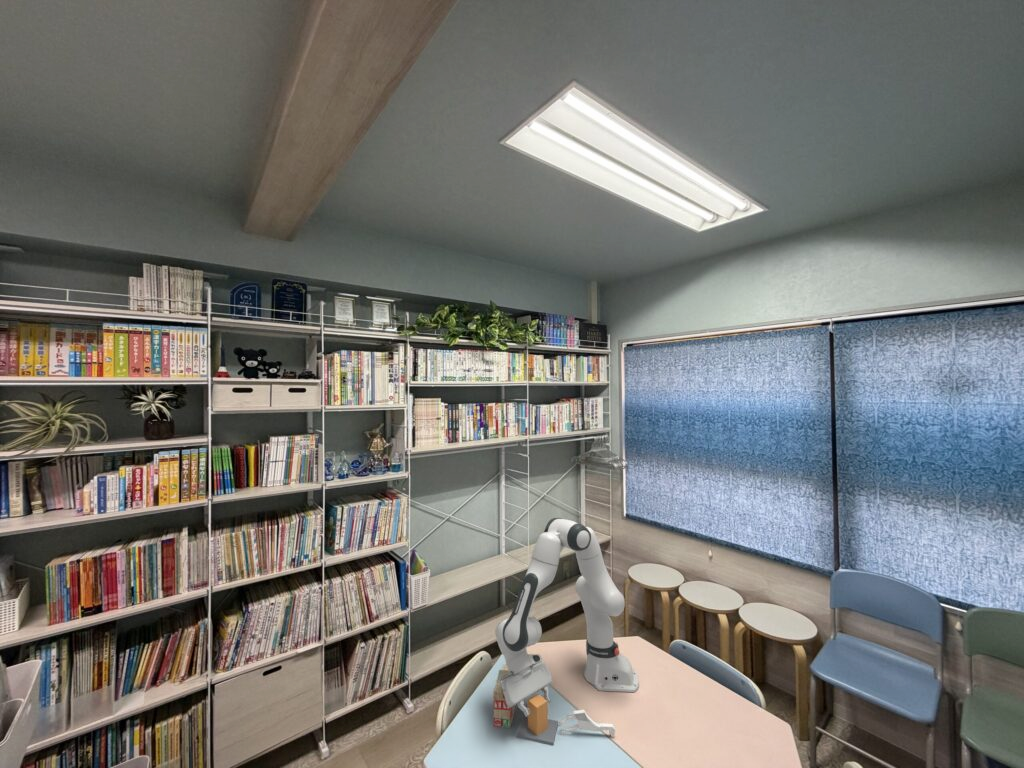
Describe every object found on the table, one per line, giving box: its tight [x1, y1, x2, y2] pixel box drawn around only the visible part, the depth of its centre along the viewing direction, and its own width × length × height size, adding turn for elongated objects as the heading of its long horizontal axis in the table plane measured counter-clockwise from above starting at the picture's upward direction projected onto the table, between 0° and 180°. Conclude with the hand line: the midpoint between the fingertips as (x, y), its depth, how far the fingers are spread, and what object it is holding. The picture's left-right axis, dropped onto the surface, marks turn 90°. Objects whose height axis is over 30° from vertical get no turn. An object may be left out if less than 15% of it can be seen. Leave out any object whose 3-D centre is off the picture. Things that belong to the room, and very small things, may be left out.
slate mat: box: [515, 714, 559, 746], centre depth 139 cm, size 13×10×1 cm
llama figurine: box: [558, 709, 616, 739], centre depth 138 cm, size 2×11×18 cm
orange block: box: [527, 693, 549, 735], centre depth 140 cm, size 5×5×9 cm
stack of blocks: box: [493, 663, 515, 729], centre depth 152 cm, size 21×6×12 cm, turn 172°
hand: (538, 709), depth 140 cm, fingers open, 8 cm apart
